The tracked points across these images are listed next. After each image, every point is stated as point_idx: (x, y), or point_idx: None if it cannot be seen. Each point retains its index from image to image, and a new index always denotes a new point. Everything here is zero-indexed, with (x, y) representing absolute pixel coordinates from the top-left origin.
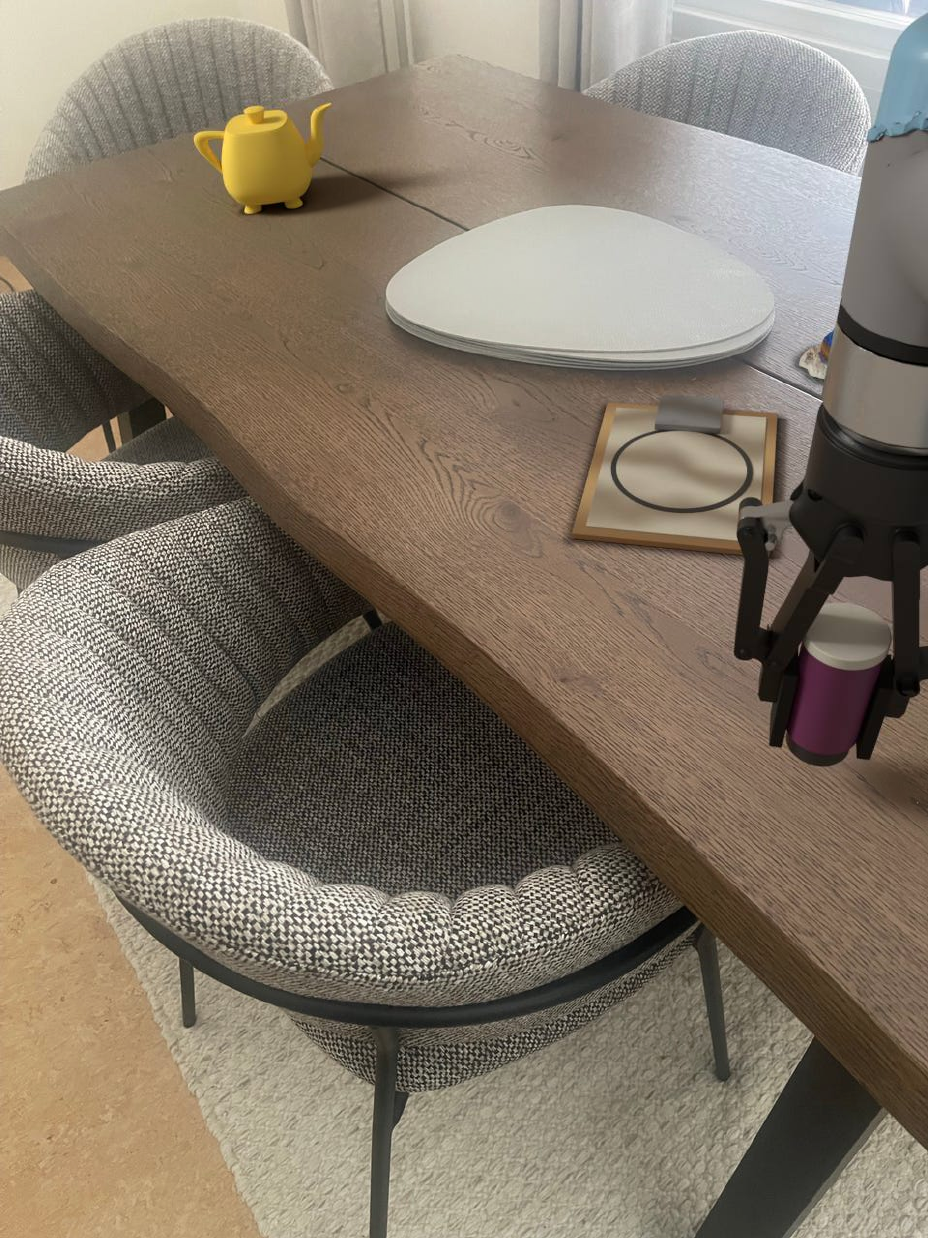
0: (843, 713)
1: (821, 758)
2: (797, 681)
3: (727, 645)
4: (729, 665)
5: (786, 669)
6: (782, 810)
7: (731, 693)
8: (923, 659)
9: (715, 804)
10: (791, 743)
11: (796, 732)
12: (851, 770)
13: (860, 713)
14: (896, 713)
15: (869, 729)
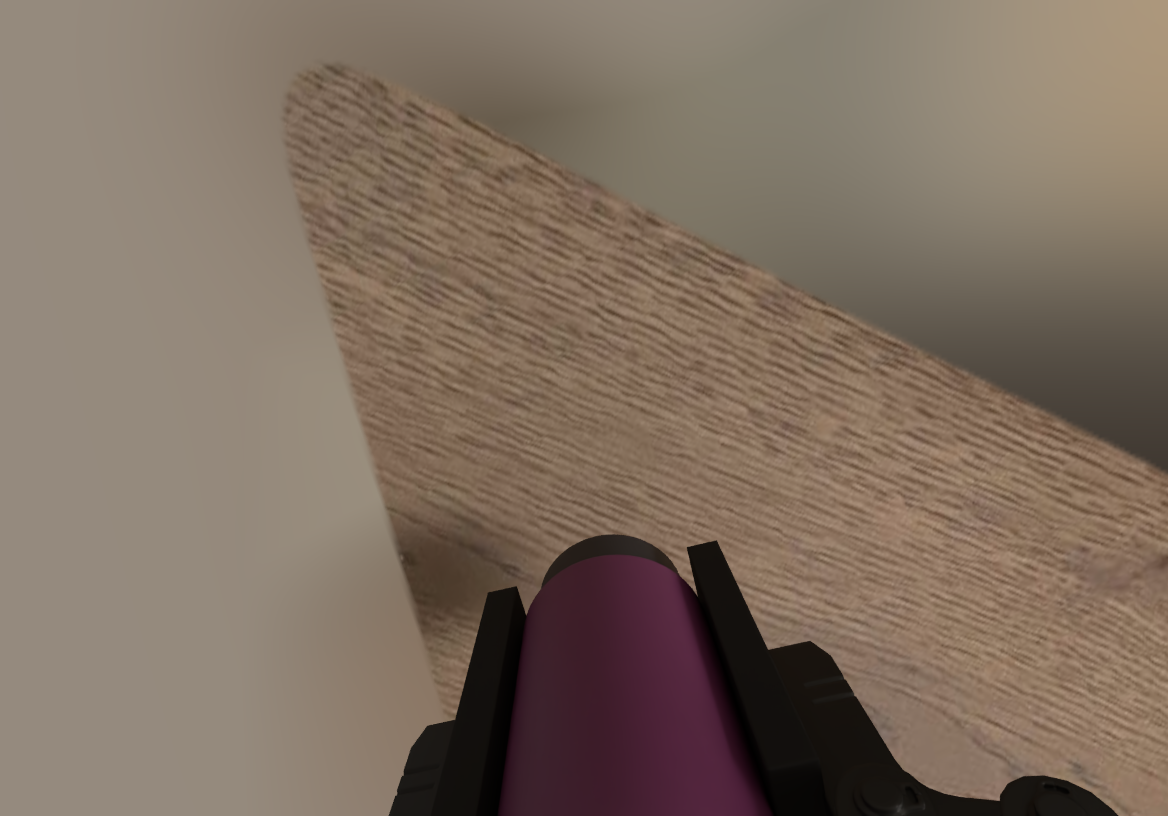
0: (568, 683)
1: (591, 553)
2: (747, 749)
3: None
4: None
5: (816, 789)
6: (631, 435)
7: None
8: None
9: (763, 391)
10: (668, 568)
11: (672, 589)
12: (532, 578)
13: (522, 703)
14: (432, 740)
15: (494, 664)
